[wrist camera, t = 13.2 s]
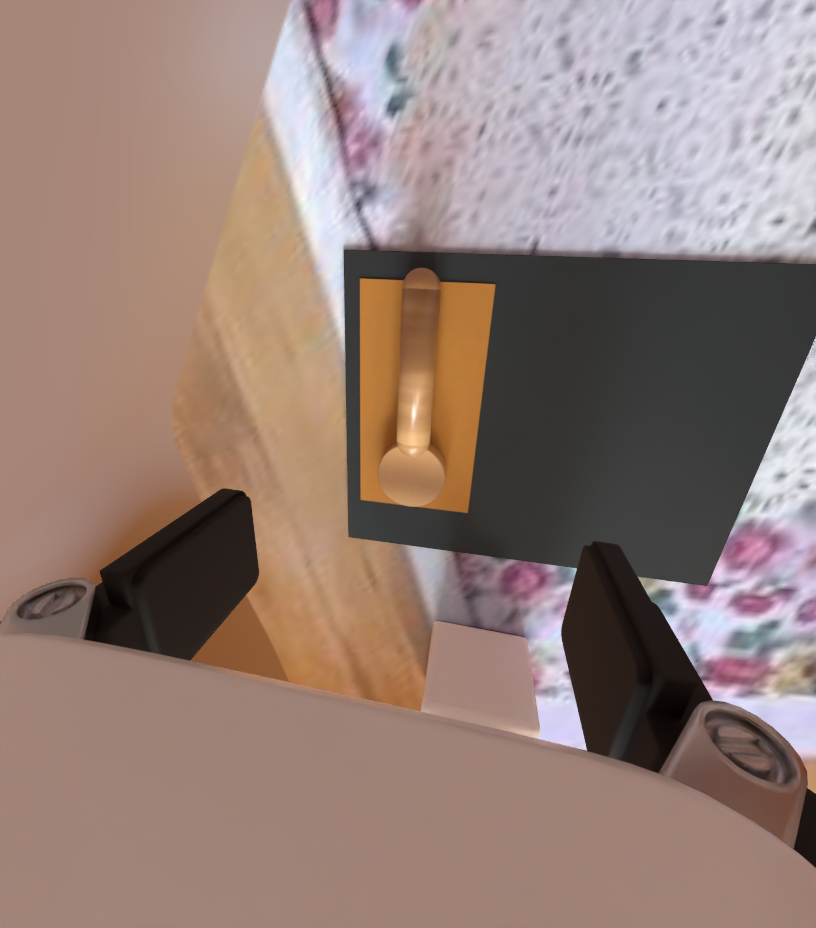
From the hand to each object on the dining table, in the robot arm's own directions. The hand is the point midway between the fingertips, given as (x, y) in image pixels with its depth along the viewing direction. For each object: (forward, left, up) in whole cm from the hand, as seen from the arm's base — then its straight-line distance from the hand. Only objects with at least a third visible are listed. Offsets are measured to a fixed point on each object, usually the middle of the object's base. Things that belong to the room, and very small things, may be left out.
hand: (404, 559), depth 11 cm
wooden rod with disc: (+2, 0, -16) cm, 16 cm away
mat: (-6, +1, -16) cm, 17 cm away
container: (-4, +22, -16) cm, 28 cm away
